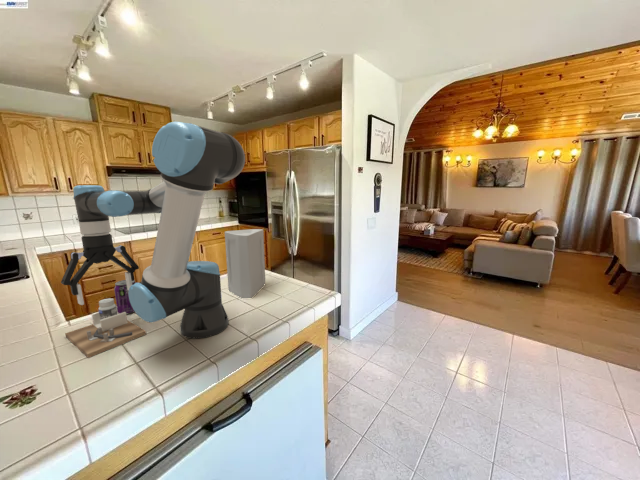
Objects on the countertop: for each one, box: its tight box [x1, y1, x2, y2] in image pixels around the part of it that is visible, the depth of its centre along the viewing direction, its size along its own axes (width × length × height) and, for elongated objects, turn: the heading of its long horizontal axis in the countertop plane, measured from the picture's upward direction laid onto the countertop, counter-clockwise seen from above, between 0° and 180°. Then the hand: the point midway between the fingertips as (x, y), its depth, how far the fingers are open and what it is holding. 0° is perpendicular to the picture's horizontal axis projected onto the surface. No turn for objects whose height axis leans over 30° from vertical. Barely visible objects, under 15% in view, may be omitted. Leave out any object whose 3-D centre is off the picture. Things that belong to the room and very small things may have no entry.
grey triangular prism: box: [224, 228, 266, 299], centre depth 123 cm, size 19×15×28 cm
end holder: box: [91, 306, 128, 332], centre depth 91 cm, size 8×7×4 cm
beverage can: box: [113, 279, 136, 315], centre depth 102 cm, size 7×7×12 cm
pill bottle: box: [98, 297, 117, 320], centre depth 90 cm, size 5×5×8 cm
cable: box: [93, 329, 132, 339], centre depth 83 cm, size 13×4×1 cm, turn 81°
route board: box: [64, 319, 147, 359], centre depth 86 cm, size 20×15×4 cm
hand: (107, 296), depth 89 cm, fingers open, 13 cm apart
